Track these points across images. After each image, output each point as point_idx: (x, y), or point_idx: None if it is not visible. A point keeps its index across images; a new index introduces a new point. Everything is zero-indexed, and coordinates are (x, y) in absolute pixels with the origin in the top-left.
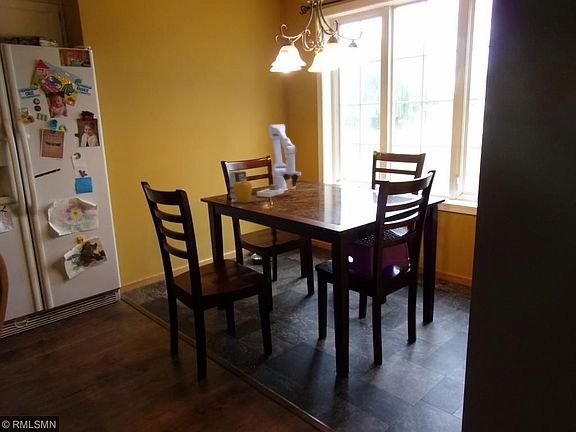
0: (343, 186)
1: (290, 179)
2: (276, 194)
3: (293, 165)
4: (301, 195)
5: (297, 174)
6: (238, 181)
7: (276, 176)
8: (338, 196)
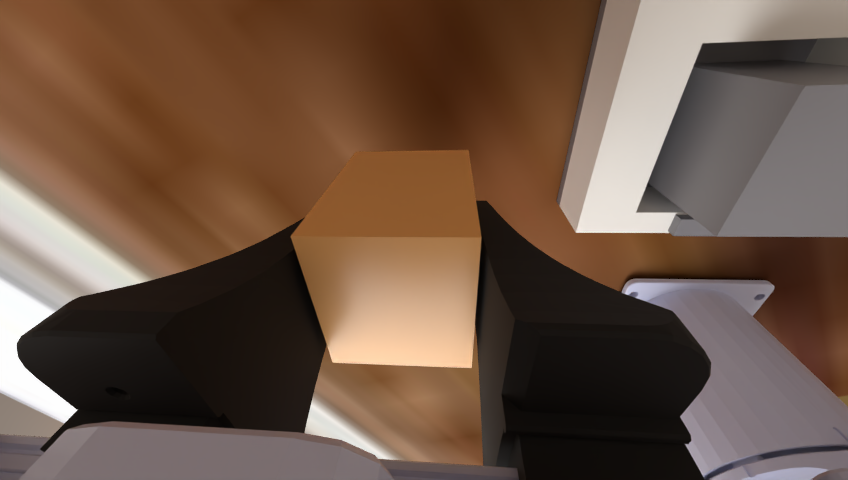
0: None
1: (433, 340)
2: None
3: None
4: (292, 185)
5: (15, 470)
6: None
7: None
8: (13, 274)
